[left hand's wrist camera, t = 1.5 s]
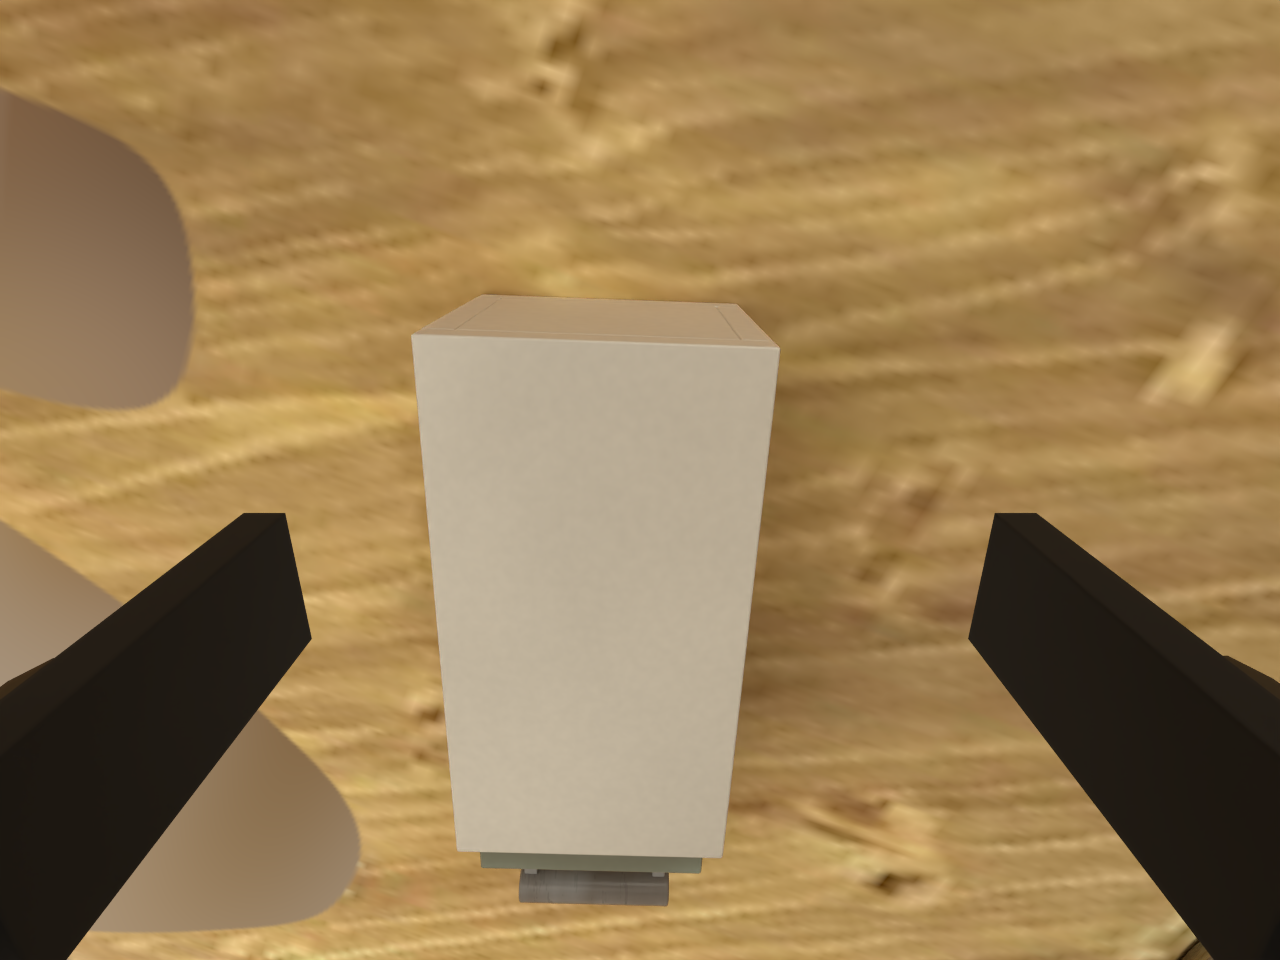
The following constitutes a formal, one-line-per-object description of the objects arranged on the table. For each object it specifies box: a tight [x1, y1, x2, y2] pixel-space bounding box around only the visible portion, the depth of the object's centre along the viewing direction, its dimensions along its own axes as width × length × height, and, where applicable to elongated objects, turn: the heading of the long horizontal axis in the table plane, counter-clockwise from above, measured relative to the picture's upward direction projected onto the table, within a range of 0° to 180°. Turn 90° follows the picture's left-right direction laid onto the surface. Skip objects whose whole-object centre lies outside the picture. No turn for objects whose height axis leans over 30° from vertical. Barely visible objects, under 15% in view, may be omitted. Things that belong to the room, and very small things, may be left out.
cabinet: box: [411, 294, 780, 858], centre depth 26 cm, size 20×10×9 cm, turn 178°
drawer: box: [480, 852, 702, 906], centre depth 28 cm, size 24×9×7 cm, turn 178°
